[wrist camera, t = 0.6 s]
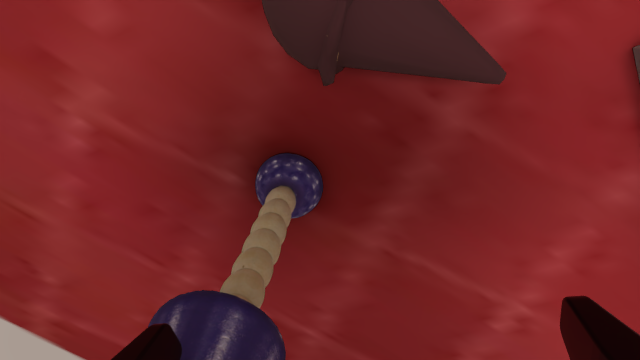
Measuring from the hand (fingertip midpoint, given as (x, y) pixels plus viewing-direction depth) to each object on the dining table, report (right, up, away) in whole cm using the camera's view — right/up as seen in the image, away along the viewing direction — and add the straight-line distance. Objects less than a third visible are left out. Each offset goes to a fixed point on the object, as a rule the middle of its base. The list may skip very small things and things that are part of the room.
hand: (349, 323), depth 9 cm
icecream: (+1, +12, +12) cm, 17 cm away
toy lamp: (-3, +3, +16) cm, 17 cm away
